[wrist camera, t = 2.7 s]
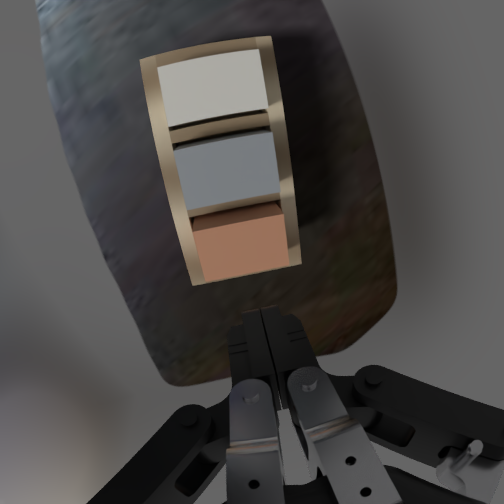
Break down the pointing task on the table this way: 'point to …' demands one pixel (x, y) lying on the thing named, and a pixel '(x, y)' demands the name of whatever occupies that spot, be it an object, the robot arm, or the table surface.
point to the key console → (219, 127)
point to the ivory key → (212, 86)
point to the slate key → (227, 168)
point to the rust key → (241, 240)
